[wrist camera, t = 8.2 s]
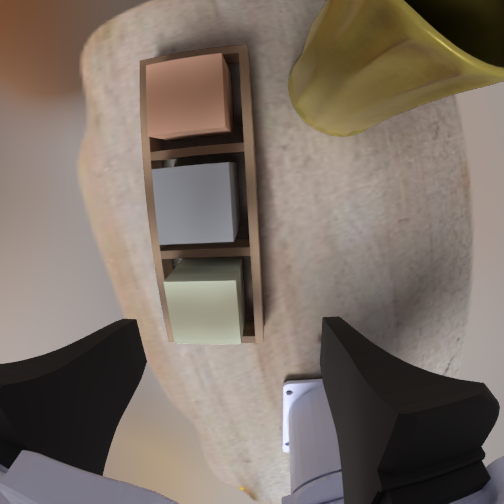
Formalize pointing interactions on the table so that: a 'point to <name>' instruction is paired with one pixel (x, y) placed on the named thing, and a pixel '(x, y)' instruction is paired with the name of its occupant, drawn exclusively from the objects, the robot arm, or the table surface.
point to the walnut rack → (193, 126)
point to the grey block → (196, 203)
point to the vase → (393, 59)
